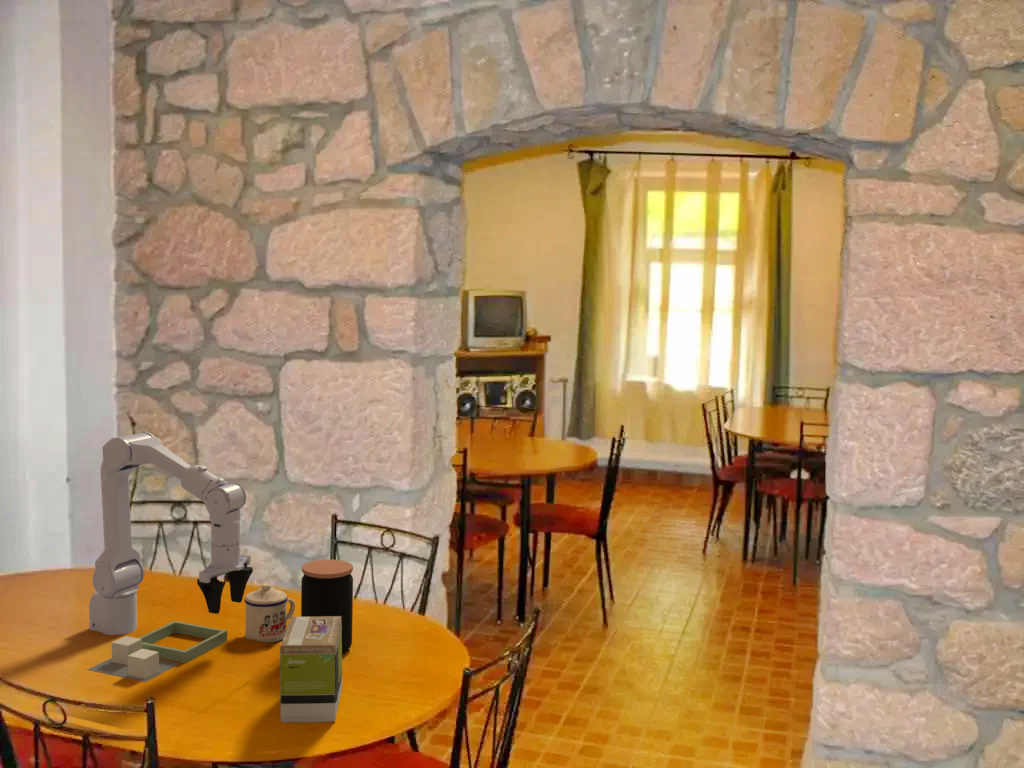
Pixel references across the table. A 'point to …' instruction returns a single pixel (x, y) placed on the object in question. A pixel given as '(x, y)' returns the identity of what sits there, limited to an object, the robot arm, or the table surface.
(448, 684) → the table surface
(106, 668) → the slate board
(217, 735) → the table surface
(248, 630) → the teacup with lid
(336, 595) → the coffee jar
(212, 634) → the olive dish
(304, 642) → the tea box
